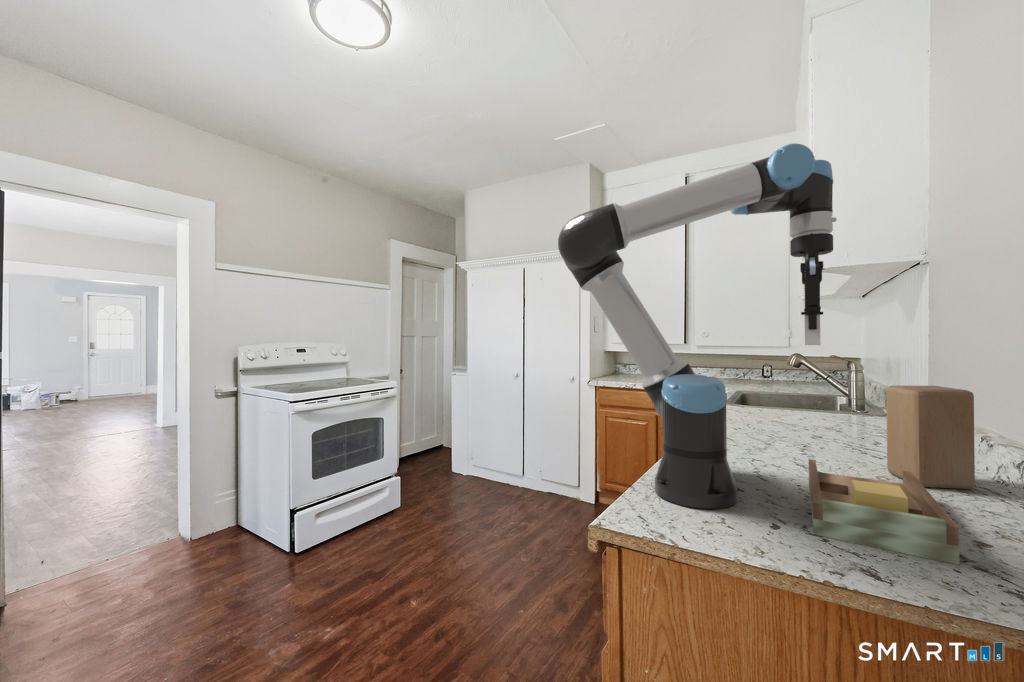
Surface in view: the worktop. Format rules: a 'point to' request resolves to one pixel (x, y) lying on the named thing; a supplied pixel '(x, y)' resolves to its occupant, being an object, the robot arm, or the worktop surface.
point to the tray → (882, 518)
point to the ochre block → (879, 496)
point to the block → (931, 435)
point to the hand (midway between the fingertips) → (812, 344)
